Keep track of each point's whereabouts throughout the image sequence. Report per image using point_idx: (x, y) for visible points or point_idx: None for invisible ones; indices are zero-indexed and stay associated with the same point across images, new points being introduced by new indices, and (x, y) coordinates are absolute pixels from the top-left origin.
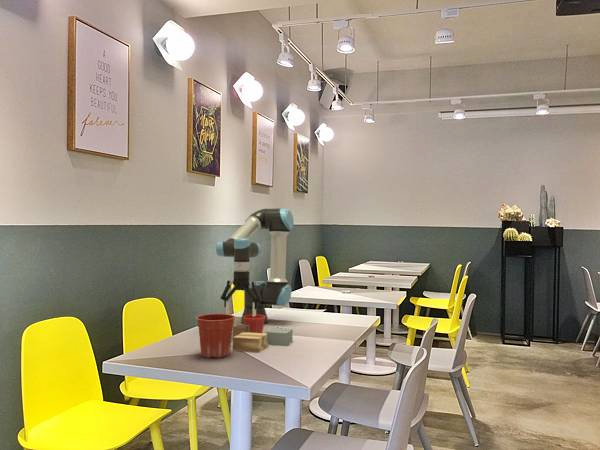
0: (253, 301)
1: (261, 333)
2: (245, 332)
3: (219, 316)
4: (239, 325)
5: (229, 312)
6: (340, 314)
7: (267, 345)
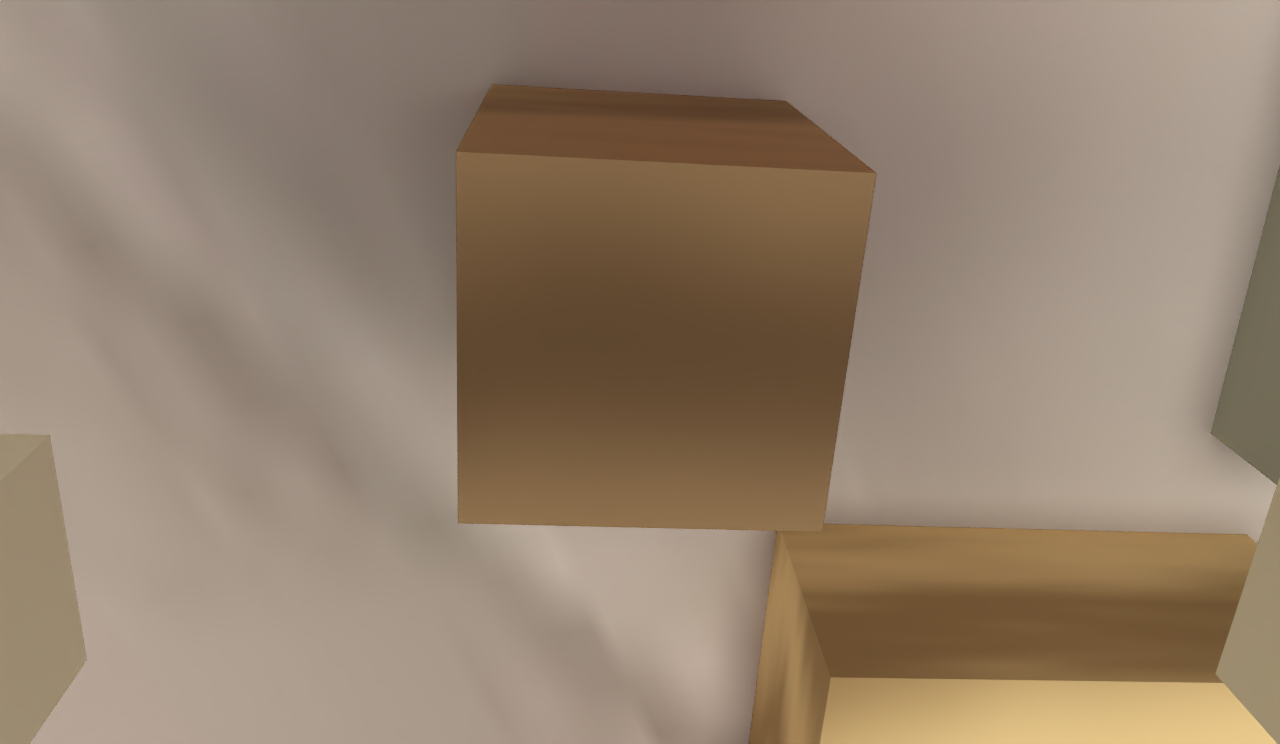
0: None
1: None
2: (895, 709)
3: None
4: (580, 306)
5: (14, 491)
6: None
7: (1252, 554)
